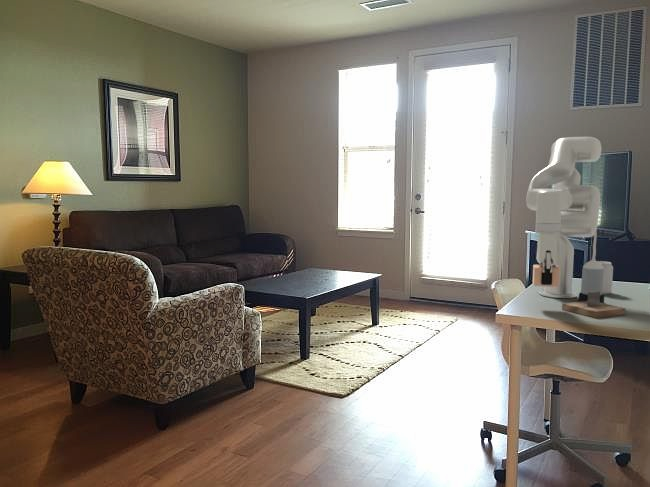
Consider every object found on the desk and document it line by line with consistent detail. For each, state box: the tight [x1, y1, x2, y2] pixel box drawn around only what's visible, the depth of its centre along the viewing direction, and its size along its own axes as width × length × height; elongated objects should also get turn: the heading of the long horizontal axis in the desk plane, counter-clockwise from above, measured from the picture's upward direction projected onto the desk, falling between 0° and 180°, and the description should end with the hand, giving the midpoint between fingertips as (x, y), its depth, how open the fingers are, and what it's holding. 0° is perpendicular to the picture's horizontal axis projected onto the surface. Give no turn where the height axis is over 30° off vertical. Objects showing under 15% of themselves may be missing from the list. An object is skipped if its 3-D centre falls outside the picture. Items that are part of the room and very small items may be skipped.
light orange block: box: [532, 264, 559, 287], centre depth 184 cm, size 6×8×7 cm
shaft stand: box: [561, 291, 626, 319], centre depth 179 cm, size 13×13×7 cm
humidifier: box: [577, 230, 605, 304], centre depth 193 cm, size 8×8×25 cm
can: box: [596, 260, 614, 295], centre depth 212 cm, size 8×8×12 cm
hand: (545, 281), depth 184 cm, fingers closed on light orange block, 6 cm apart
